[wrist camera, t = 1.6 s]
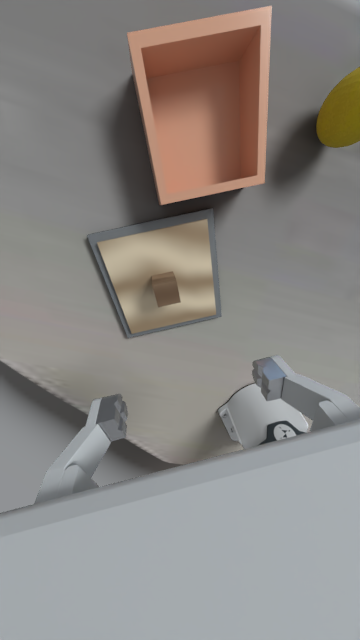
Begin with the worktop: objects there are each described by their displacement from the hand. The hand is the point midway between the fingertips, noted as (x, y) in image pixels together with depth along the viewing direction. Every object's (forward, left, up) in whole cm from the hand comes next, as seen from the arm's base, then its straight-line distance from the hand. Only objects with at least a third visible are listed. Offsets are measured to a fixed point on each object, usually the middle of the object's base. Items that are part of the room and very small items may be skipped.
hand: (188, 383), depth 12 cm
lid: (0, 0, -19) cm, 19 cm away
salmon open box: (+15, -7, -20) cm, 26 cm away
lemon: (+14, -22, -20) cm, 33 cm away
